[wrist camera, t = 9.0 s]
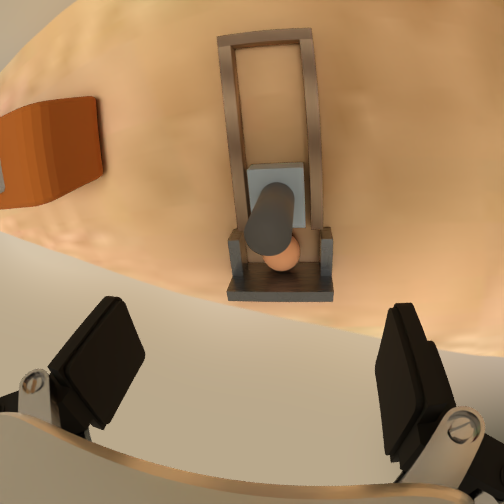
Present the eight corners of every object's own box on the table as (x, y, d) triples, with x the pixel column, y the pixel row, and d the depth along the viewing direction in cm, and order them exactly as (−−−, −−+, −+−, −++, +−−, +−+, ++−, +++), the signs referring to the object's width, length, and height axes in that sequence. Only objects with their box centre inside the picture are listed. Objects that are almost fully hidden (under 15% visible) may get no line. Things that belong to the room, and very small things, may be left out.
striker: (251, 164, 25) (225, 195, 17) (303, 162, 24) (304, 192, 16) (256, 218, 27) (235, 271, 19) (305, 217, 27) (305, 271, 18)
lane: (221, 40, 20) (216, 36, 19) (310, 32, 19) (311, 27, 18) (241, 224, 28) (238, 230, 27) (321, 222, 27) (323, 229, 25)
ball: (258, 245, 25) (261, 278, 27) (299, 245, 24) (300, 278, 26) (262, 226, 28) (265, 257, 30) (300, 225, 27) (300, 257, 29)
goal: (233, 229, 28) (220, 254, 24) (330, 227, 27) (335, 252, 22) (239, 271, 31) (228, 300, 26) (329, 271, 29) (333, 301, 25)
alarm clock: (103, 94, 24) (18, 104, 14) (111, 173, 28) (34, 213, 18) (-13, 136, 28) (-72, 159, 18) (-5, 189, 31) (-60, 220, 21)
